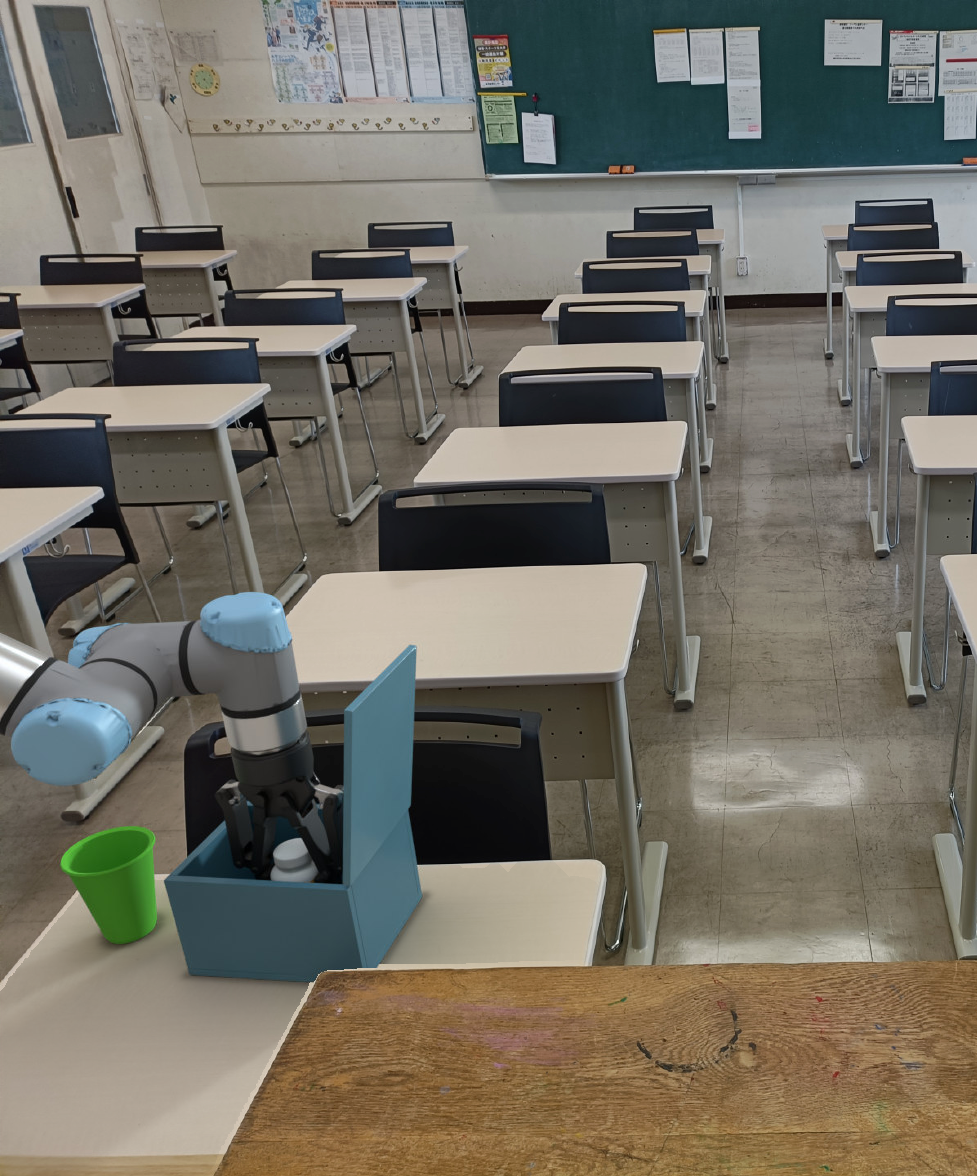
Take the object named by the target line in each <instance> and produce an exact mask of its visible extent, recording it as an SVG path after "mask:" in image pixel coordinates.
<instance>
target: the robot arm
mask: <svg viewBox="0 0 977 1176" xmlns="http://www.w3.org/2000/svg"><path fill="white" fill-rule="evenodd" d="M199 616H200V619H198V620H184V621H167V622H145V623H129V622H123V623H122V622H118V623H114V624H111V625H105V626H104V625H103V626H95V627H90V628H86V629H84V630H83V631H81V632H79V634H78V635H76V636H75V638H74V639H73V643H72V647H73V648H71V649H69V652H68V655H67V656H68V657H67V662H66V661H63V660H60V659H58V658H56V657H55V656H51V655H49V654H47V653H45V652H44V651H41V650H39V649H36V648H34V647H32V646H30V645H29V644H28V645H27V644H25V643H23V642H22V641H19V640H17V639H15V638H13V637H11V636H9V635H7V634H4V633H2V632H0V735H2V736H4V737H6V738H8V739H10V750H11V753H12V756H13V759H14V761H15V762H16V764H17V765H19V766H20V767H22V769H23V770H24V771H25V772H27V775H28V776H29V777H31V778H32V779H34V780H36V781H39V782H41V783H44V784H48V785H51V786H59V787H69V786H77V785H80V784H84V783H86V782H89V781H92V780H93V779H96V778H97V777H98V776H99V775H101V774H102V773H103V772H104V771H105V770H106V769H107V768H108V767H109V766H110V765H111V764H112V763H113V762H114V761H116V760H117V759H118V758H119V757H120V756H121V755H123V754H124V753H125V752H126V751H127V749H128V747H130V744H131V741H132V740H133V739H134V737H135V736H137V734H138V733H139V732H140V731H141V729H142V728H143V727H144V725H145V724H146V723H147V722H148V721H149V720H150V719H151V718H152V717H153V716H154V714H155V713H156V712H157V711H158V709H159V708H160V707H161V706H162V705H163V703H164V702H165V701H166V700H167V699H169V698H176V697H190V696H191V697H192V696H203V695H204V696H205V695H209V694H216V695H217V698H218V703H219V706H220V711H221V716H222V720H223V725H224V730H225V735H226V739H227V743H228V745H229V746H230V755H231V761H232V763H233V769H234V774H235V777H236V779H237V780H238V781H236V779H229V780H228V781H226V782H225V784H224V785H222V786H221V787H220V788H219V789H218V790H217V791H216V792H215V793H214V798H215V800H216V802H217V803H218V805H219V807H220V809H221V810H222V813H223V818H224V821H225V824H226V829H227V834H228V839H229V844H230V849H231V854H232V859H233V864H234V866H235V867H236V868H238V869H242V868H243V867H246V868H249V869H250V870H251V872H252V873H253V874H254V875H255V879H256V880H268V881H271V871H272V869H273V867H274V866H275V863H274V862H273V863H272V864H271V860H272V859H273V858H274V856H273V851H274V841H275V832H276V822H277V817H282V818H286V819H288V821H289V823H290V825H291V827H292V828H296V829H297V831H298V833H299V835H300V837H301V839H302V841H303V842H304V844H305V846H306V848H307V850H308V852H309V854H310V856H311V858H312V860H313V862H314V864H315V866H316V868H317V870H318V872H319V873H318V875H317V876H316V877H315V878H314V883H325V884H342V878H341V874H343V808H344V785H342V784H338V785H336V786H335V787H334V788H333V787H331V786H326V785H324V784H321V781H320V779H319V778H318V777H317V775H316V773H315V770H314V763H315V762H314V761H315V760H314V752H313V748H312V742H311V736H310V733H309V731H308V730H307V729H308V723H307V719H306V713H305V707H304V701H303V697H302V693H301V687H300V683H299V679H298V678H299V677H298V671H297V666H296V665H297V664H296V661H295V660H296V659H295V658H296V657H295V653H294V647H293V637H292V636H293V635H292V632H291V631H290V627H289V625H288V621H287V616H286V614H285V610H284V607H283V604H282V603H281V601H280V600H279V599H278V598H277V597H275V596H273V595H271V594H270V593H265V592H257V591H245V592H238V593H237V594H233V595H232V594H231V595H229V594H228V595H227V594H226V595H223V596H220V597H218V598H215V599H213V600H211V601H210V602H208V603H206V604H205V605H204V606H203V607H202V609H201V611H200V615H199ZM315 798H317V799H318V802H319V803H318V804H320V805H319V808H320V809H323V821H324V825H325V828H324V826H323V824H322V822H321V820H320V818H319V816H318V807H317V805H316V804H317V802H316V800H315ZM247 801H249V802H250V803H251V804H252V805H253V806H254V809H253V820H252V823H253V824H254V834H253V832H252V827H251V821H250V816H249V811H248V805H247Z"/></svg>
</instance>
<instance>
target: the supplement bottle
mask: <svg viewBox="0 0 977 1176" xmlns="http://www.w3.org/2000/svg"><path fill="white" fill-rule="evenodd" d="M273 856H274V863H275V866H274V867H273V869H272V871H271V881H287V882H306V883H314V878H315V877H316V876H317V875H318V873H319V872H318V870H317V868H316V866H315V864H314V862H313V860H312V858H311V856H310V854H309V852H308V850H307V848H306V846H305V844H304V842H303V841H302V839H301V838H296V839H291V840H288V841H286V842H283V843H281V844H280V845H279V846H277V847H276V848H275V850H274V852H273Z"/></svg>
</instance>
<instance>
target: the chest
mask: <svg viewBox="0 0 977 1176" xmlns="http://www.w3.org/2000/svg"><path fill="white" fill-rule="evenodd" d="M246 801H247V805H248V811H249V816H250V821H251V827H252V832H253V834H254V824H253V823H252V820H253V809H254V806H253V805H252V804H251V803H250V802H249V801H248V800H246ZM316 805H317V807H318V816H319V818H320V820H321V822H322V824H323V826H324V828H325V825H324V821H323V809H320V808H319V805H320V803H316ZM296 838H301V837H300V835H299V833H298V831H297V829H296V828H292V827H291V825H290V823H289V821H288V819H286V818H282V817H277V822H276V832H275V841H274V850H275V848H276V847H277V846H279V845H280V844H281V843H283V842H286V841H288V840H291V839H296ZM273 852H274V851H273ZM273 862H274V858H273V859H272V860H271V864H272V863H273ZM419 874H420V873H419V868H418V862H417V856H416V850H415V844H414V836H413V831H412V825H411V819H410V813H409V809H408V810H407V811H406V812H405V814H404V815H403V816H402V818H401V819H400V820H399V822H398V823H397V824H396V826H395V827H394V828H393V830H392V831H391V833H390V834H389V835H388V837H387V838H386V839H385V841H384V842H383V843H382V845H381V846H380V847H379V849H378V850H377V851H376V853H375V854H374V855H373V857H372V858H371V859H370V861H369V862H368V863H367V865H366V866H365V867H364V869H363V870H362V871H361V873H360V874H359V875H358V877H357V878H356V880H355V881H354V882H353V884H352V885H351V886H350V887H348V886H343V874H341V878H342V884H325V883H306V882H287V881H268V880H256V879H255V875H254V874H253V873H252V872H251V870H250V869H249V868H246V867H243V868H242V869H238V868H236V867H235V866H234V864H233V859H232V854H231V849H230V844H229V839H228V834H227V829H226V824H225V820H223V821H222V822H221V823H220V824H219V825H218V826H217V827H216V828H215V829H214V830H213V831H212V832H211V833H210V834H209V835H208V836H207V837H206V838H205V839H204V840H203V841H202V842H201V843H200V844H199V845H198V846H197V847H196V848H195V849H194V850H193V851H191V853H190V854H188V856H187V857H186V858H185V859H183V860H182V861H181V863H179V865H178V866H177V867H176V868H175V869H173V870H172V871H171V873H170V874H168V876H166V877H165V878H164V879H163V883H164V888H165V890H166V894H167V898H168V903H169V905H170V909H171V913H172V916H173V919H174V920H173V921H174V924H175V927H176V930H177V934H178V938H179V942H180V945H181V950H182V953H183V957H184V961H185V965H186V967H187V971H188V975H189V976H200V977H217V978H218V977H219V978H235V979H250V980H251V979H252V980H264V981H265V980H266V981H268V980H269V981H281V982H282V981H283V982H299V983H314V981H315V980H316V978H317V976H318V974H320V973H321V972H324V971H327V970H344V969H357V968H377V969H378V968H379V965H380V964H381V963H382V961H383V960H384V957H385V956H386V954H387V953H388V951H389V950H390V948H391V947H392V945H393V944H394V942H395V941H396V938H398V935H399V934H400V933H401V931H402V929H403V928H404V926H405V924H406V923H407V921H409V918H410V917H411V915H412V914H413V912H414V911H415V908H417V906H418V904H419V903H420V901H421V899H422V897H423V892H422V886H421V881H420V875H419Z"/></svg>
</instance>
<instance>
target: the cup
mask: <svg viewBox="0 0 977 1176" xmlns="http://www.w3.org/2000/svg"><path fill="white" fill-rule="evenodd" d="M155 844H156V836H155V834H154V832H153V831H152V830H150V829H148V828H147V827H142V826H138V825H124V826H118V827H113V828H107V829H105V830H102V831H98V832H95V833H93V834H90V835H89V836H86V837H85V838H82V839H81V840H79V841H77V842H76V843H75V844H73V845H72V846H70V847H69V848H68V849H67V850H66V851H65V852H64V853H63V856H62V857H61V859H60V864H59V867H60V870H61V871H62V872H63V873H65V874H66V875H68V876H69V878H70V879H71V881H72V883H73V885H74V887H75V888H76V890H77V892H78V893H79V895H80V897H81V899H82V900H83V902H84V904H85V906H86V907H87V909H88V911H89V913H90V915H91V916H92V918H93V919H94V921H95V923H96V925H97V927H98V929H99V930H100V932H101V934H102V936H103V937H104V939H105V940H106V941H108V942H109V943H111V944H115V945H124V944H129V943H130V944H131V943H133V942H136V941H138V940H141V939H142V938H144V937H146V936H147V935H149V934H150V933H151V932H152V931H153V930H154V929H155V927H156V924H157V921H158V913H157V896H156V895H157V894H156V879H155V865H154V864H155V863H154V849H153V848H154V845H155Z"/></svg>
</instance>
